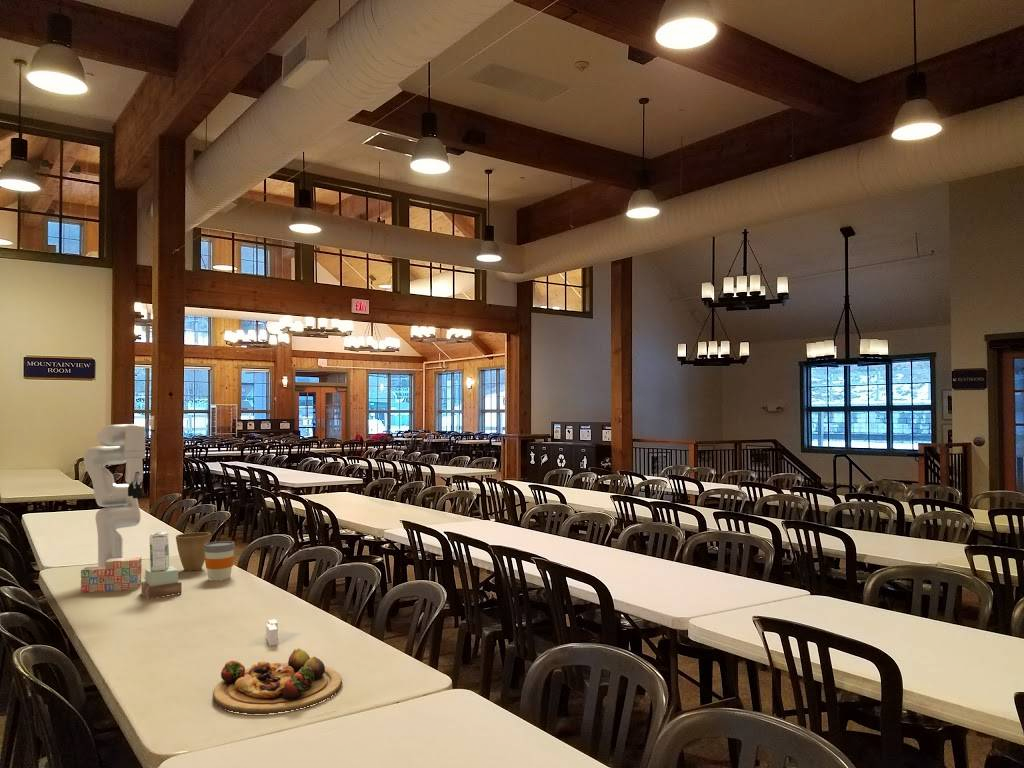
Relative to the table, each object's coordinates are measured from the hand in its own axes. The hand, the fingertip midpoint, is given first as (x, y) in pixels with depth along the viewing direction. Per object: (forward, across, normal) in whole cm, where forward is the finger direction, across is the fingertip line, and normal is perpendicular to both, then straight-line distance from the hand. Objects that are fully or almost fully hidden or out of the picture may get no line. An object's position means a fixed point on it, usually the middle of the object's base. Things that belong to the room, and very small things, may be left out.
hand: (134, 497), depth 303 cm
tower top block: (+34, +11, +8) cm, 36 cm away
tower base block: (+39, +11, +8) cm, 41 cm away
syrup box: (+29, +11, +7) cm, 32 cm away
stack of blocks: (+39, -11, -7) cm, 41 cm away
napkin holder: (+39, +99, +22) cm, 109 cm away
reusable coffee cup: (+38, -2, +34) cm, 51 cm away
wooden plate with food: (+39, +142, +7) cm, 148 cm away
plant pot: (+38, -29, +30) cm, 57 cm away
